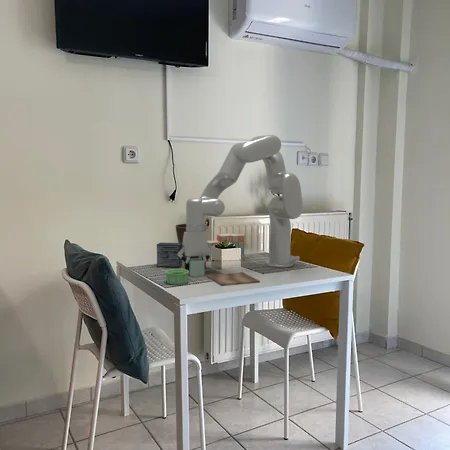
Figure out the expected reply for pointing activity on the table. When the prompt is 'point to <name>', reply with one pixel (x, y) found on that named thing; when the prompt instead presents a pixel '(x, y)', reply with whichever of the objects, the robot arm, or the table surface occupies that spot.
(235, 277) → the walnut board
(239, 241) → the stack of blocks
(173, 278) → the ramekin
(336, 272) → the table surface
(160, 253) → the small box
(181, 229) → the plant pot
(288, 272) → the table surface
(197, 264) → the sage cube
